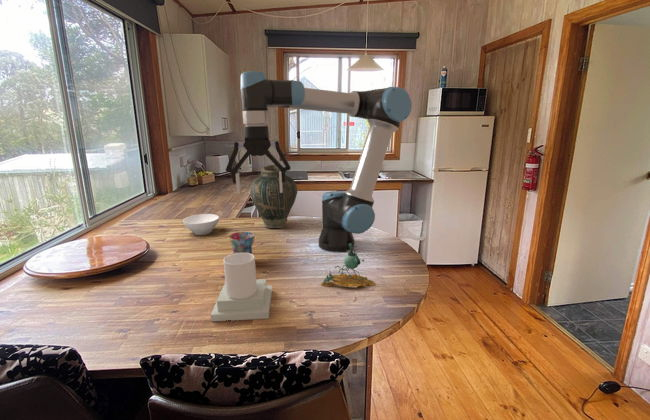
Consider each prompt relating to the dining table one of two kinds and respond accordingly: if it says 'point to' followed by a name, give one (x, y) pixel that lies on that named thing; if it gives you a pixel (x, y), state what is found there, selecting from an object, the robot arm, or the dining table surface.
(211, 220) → the bowl
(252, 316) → the plinth
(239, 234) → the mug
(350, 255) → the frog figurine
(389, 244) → the dining table surface
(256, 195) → the vase
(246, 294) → the mug
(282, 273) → the dining table surface
